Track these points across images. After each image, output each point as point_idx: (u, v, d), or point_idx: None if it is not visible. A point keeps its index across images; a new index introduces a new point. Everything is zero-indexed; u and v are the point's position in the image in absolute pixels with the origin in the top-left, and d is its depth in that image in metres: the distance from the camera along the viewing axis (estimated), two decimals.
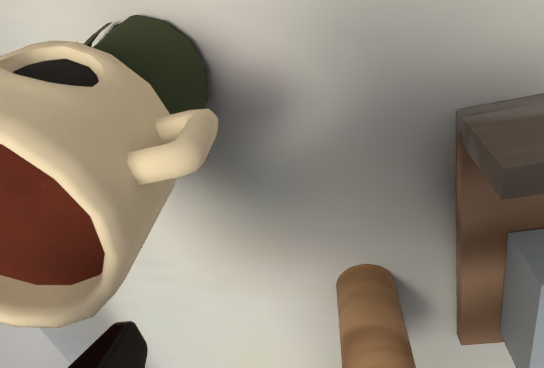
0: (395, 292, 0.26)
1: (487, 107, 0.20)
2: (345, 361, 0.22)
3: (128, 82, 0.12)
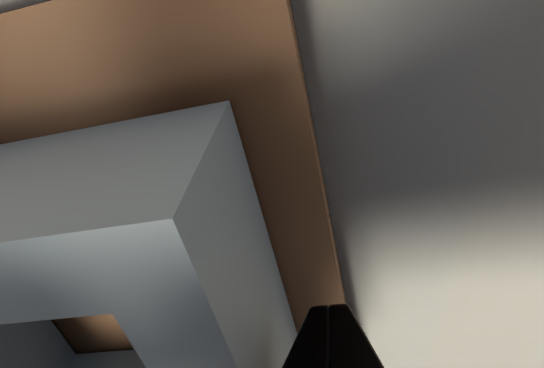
0: None
1: None
2: None
3: None
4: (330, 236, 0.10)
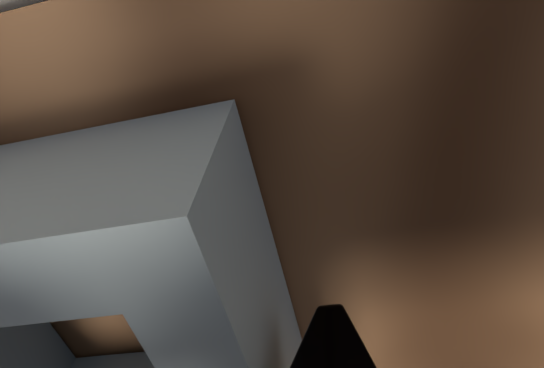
0: None
1: None
2: None
3: None
4: None
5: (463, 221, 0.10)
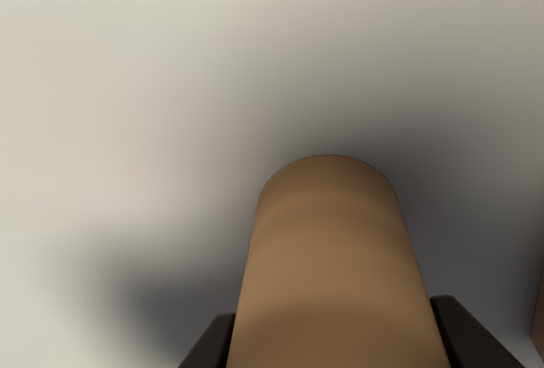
0: (401, 221, 0.09)
1: None
2: None
3: None
4: None
5: None
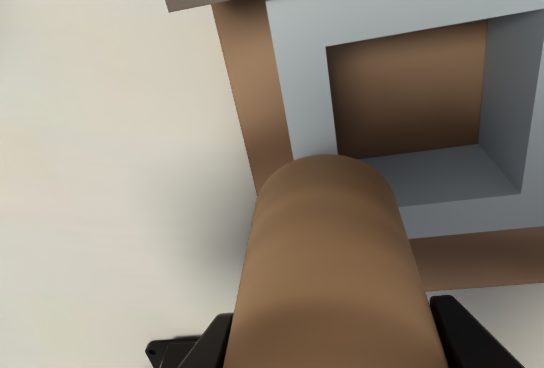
0: (399, 220, 0.09)
1: None
2: None
3: None
4: None
5: (417, 253, 0.21)
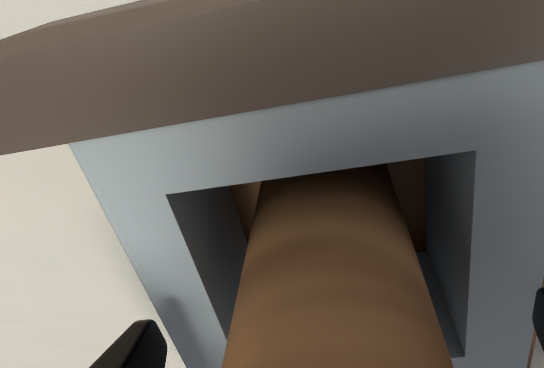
0: (390, 184, 0.11)
1: (87, 14, 0.11)
2: (228, 341, 0.07)
3: None
4: None
5: None
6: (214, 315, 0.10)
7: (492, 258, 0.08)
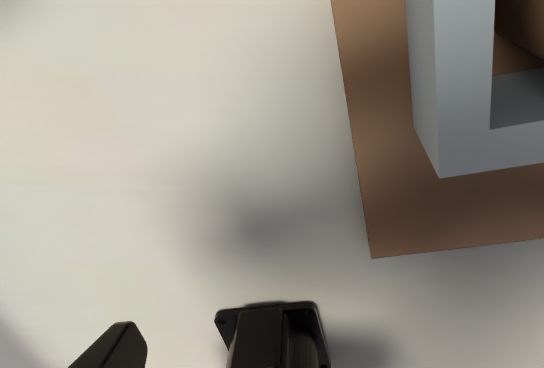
0: None
1: None
2: None
3: None
4: (529, 238, 0.19)
5: (533, 194, 0.18)
6: (490, 56, 0.11)
7: None
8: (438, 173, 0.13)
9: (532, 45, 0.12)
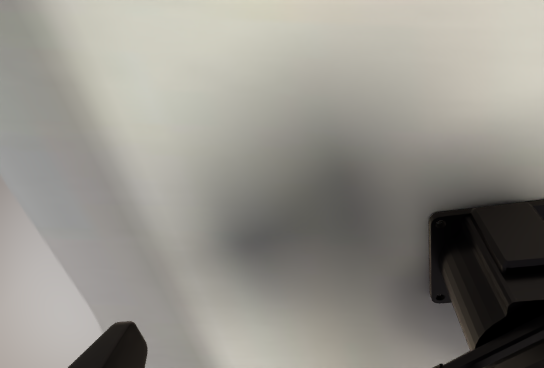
0: None
1: None
2: None
3: None
4: None
5: None
6: None
7: None
8: None
9: None
